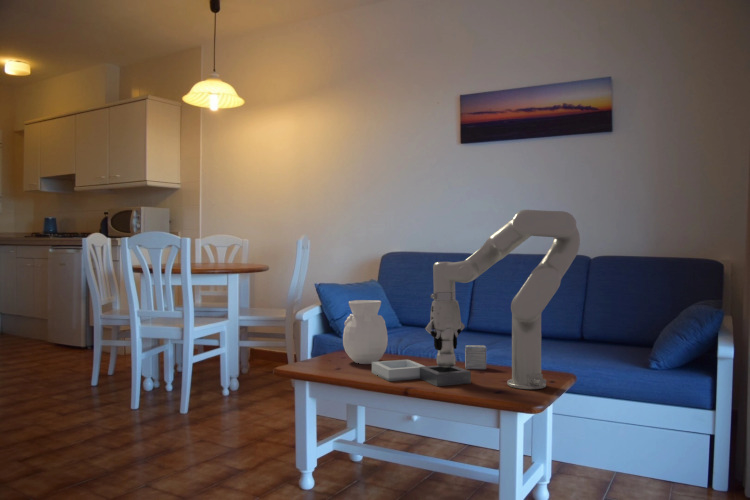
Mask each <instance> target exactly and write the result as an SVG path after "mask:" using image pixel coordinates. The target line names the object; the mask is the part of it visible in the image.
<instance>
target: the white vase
mask: <svg viewBox="0 0 750 500" xmlns="http://www.w3.org/2000/svg"><path fill="white" fill-rule="evenodd" d="M381 305H382V301H381V300H378V299H377V300H374V299H372V300H371V299H370V300H368V299H366V300H365V299H362V300H361V299H355V300H349V301H348V306H349V308H350V311H351V313H350V314H349V315H348V316H347V317H346V320H345V321H344V323H343V325H344V328H343V334H342V335H343V336H342V346H343V349H344V351H345V353H346V354H347V355H348V357H349V358H350V359H351V360H352V361H353V362H354V363H355V364H358V363H359V364H360V365H372V362H379V361H380V359H382V357H383V356H384V354H385V352H386V350H387V348H388V342H389V340H388V339H389V337H388V329H387V326H386V321H385V319H384V317H383V316H382V315H379V310H380V308H381Z"/></svg>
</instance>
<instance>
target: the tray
mask: <svg viewBox="0 0 750 500" xmlns="http://www.w3.org/2000/svg"><path fill="white" fill-rule="evenodd" d="M424 366H425V365H423V364H421V363H418V362H417V361H415V360H414V361H413V360H410V359H396V360H395V359H394V360H382V361H381V360H379V361H378V362H372V364H371V374H373V375H374V376H377V375H378V376H377V377H379V378H380V379H383V380H385V381H386V382H400V381H407V380H408V381H409V380H410V381H411V380H421V379H420V367H424Z"/></svg>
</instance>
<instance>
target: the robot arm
mask: <svg viewBox="0 0 750 500" xmlns="http://www.w3.org/2000/svg"><path fill="white" fill-rule="evenodd" d="M531 237H543V238H553V242H552V244H551V246H550V248H549V249H548V250H547V252H546V254H545V255H544V256H543V257H542V259H541V261H540V262H539V263H538V265H537V266H536V267H535V268H534V269H533V270H532V271H531V273H530V274H529V276H528V277H527V279H526V281H525V282H524V283H523V285H522V286H521V288H520V289H519V291H518V292H517V293H516V294H515V296H514V297H512V301H511V303H510V311H511V378H510V379H508V380H507V382H506V383H507V386H508V387H510V388H515V389H521V390H539V389H540V390H541V389H544V388H546V387H547V379H545V378H543V373H542V312H543V311H544V310H545V308H546V307H547V306H548V304H549V302H551V300H552V299H553V296H554V295H555V294H556V293H557V291H558V289H559V288H560V286H561V282H562V279H563V277H564V275H565V274H566V272H567V271H568V270H569V269H570V267H571V265H572V263H573V261H574V260H575V258H576V257H577V255H578V252H579V250H580V244H581V238H580V233H579V230H578V226H577V221H576V219H575V216H574V215H573V214H572V213H570V212H567V211H564V210H561V211H560V210H543V209H542V210H539V209H538V210H537V209H520V210H518V212H517V213H516V214H514V216H513V218H511V219H510V220H508V222H507V223H505V224H504V225H503V226H501V227H500V228H499V229H497V230H496V231H495V232H494V233H493V234H491V235H490V236H489V237H488V238H487V239H486V241H485V242H484V243H483V245H481V247H480V248H478V249H477V250H476V251H475V252H473V254H471V255H470V256H468V257H467V258H466V259H465V260H461V261H455V262H453V261H436V262H434V264H433V266H432V269H433V270H432V272H433V273H432V274H433V276H432V277H433V278H432V279H433V292H432V294H430V298H431V299H433V301H431V307H430V314H429V315H430V317H429V318H430V319H429V320H430V321H429V322H428V324H427V325H426V326H425V327H424V329H425V330H426V332H427V333H428V334H429V335H430V336H432V339H433V347H434V349H435V350H436V351H438V350H441V339H439V336H440V333H441V331H442V330H446V325H447V324H448V323H451V324H452V325H453V328H452V329H453V330H454V340H453V341H454V343H453V344H454V350H456V349H457V346H458V337H459V335H460V334H461V332H462V331H463V330H464V329H465V328H466V326H465V324H464V322H462V319H461V318H462V317H461V310H460V305H459V301H458V300H457V299H456V283H462V284H466V283H470V282H472V281H475V280H476V279H478V277H480V276H481V275H482V274H483V273H485V272H486V271H488V270H489V268H491V267H492V266H494V265H495V264H497V262H499V261H501V260H503V259H504V258H505V257H507V256H508V255H509V254H510V253H511V252H513V251H514V250H515V249H516V248H517V247H519V246H521V245H522V244H523V243H524V242H525V241H527V240H528V239H529V238H531Z"/></svg>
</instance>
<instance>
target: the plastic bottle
mask: <svg viewBox="0 0 750 500" xmlns="http://www.w3.org/2000/svg"><path fill="white" fill-rule="evenodd" d="M452 328H453V325H452V324H451V323H448V324H447V325H446V330H442V331H441V333H440V336H439V339H441V350H437V354H436V364H437V365H438V366H440V367H445V368H448V367H452V366H456V362H457V361H456V360H457V358H456V354H455V349H454V344H453V343H454V341H453V340H454V330H453V329H452Z"/></svg>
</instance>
